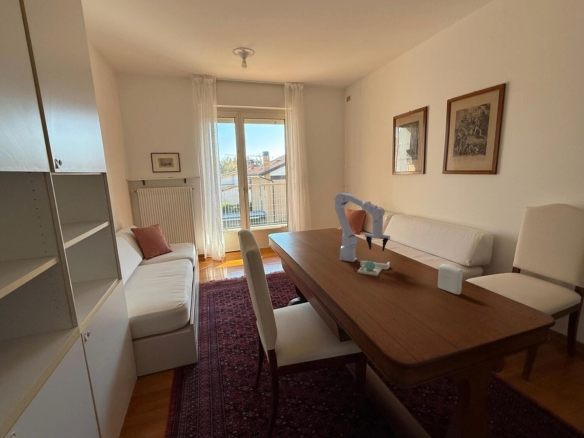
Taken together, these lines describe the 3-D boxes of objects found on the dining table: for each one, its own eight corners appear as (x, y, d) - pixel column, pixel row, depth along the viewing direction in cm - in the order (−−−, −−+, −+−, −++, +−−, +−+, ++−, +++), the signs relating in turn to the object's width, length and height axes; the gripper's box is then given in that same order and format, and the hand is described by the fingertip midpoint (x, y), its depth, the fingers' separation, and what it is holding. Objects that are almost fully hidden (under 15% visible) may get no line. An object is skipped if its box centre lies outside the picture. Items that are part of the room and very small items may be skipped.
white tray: (357, 272, 149) (357, 270, 148) (362, 266, 158) (362, 264, 158) (377, 276, 143) (377, 273, 143) (381, 269, 152) (381, 267, 152)
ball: (363, 271, 150) (363, 262, 149) (366, 268, 154) (366, 259, 154) (373, 272, 147) (373, 263, 146) (376, 269, 152) (376, 260, 151)
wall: (360, 265, 160) (360, 260, 160) (362, 262, 165) (363, 258, 165) (387, 269, 152) (387, 264, 152) (389, 266, 157) (389, 262, 157)
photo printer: (435, 287, 127) (437, 262, 126) (441, 285, 129) (443, 261, 127) (456, 295, 118) (459, 269, 116) (462, 293, 120) (465, 267, 118)
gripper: (363, 227, 156) (362, 249, 159) (389, 229, 149) (388, 253, 151) (366, 225, 162) (365, 247, 165) (391, 227, 155) (390, 250, 157)
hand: (376, 249), depth 158 cm, fingers open, 7 cm apart
